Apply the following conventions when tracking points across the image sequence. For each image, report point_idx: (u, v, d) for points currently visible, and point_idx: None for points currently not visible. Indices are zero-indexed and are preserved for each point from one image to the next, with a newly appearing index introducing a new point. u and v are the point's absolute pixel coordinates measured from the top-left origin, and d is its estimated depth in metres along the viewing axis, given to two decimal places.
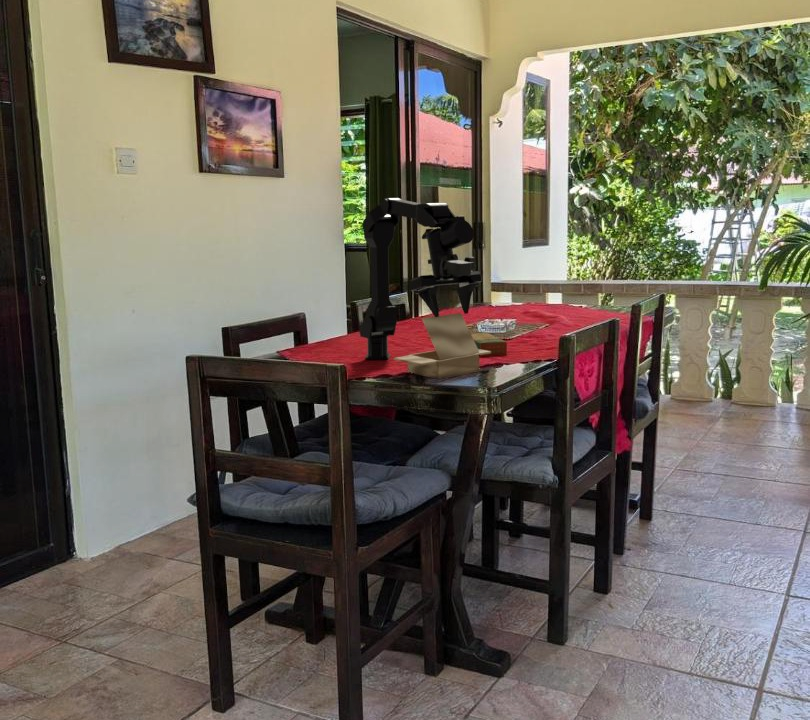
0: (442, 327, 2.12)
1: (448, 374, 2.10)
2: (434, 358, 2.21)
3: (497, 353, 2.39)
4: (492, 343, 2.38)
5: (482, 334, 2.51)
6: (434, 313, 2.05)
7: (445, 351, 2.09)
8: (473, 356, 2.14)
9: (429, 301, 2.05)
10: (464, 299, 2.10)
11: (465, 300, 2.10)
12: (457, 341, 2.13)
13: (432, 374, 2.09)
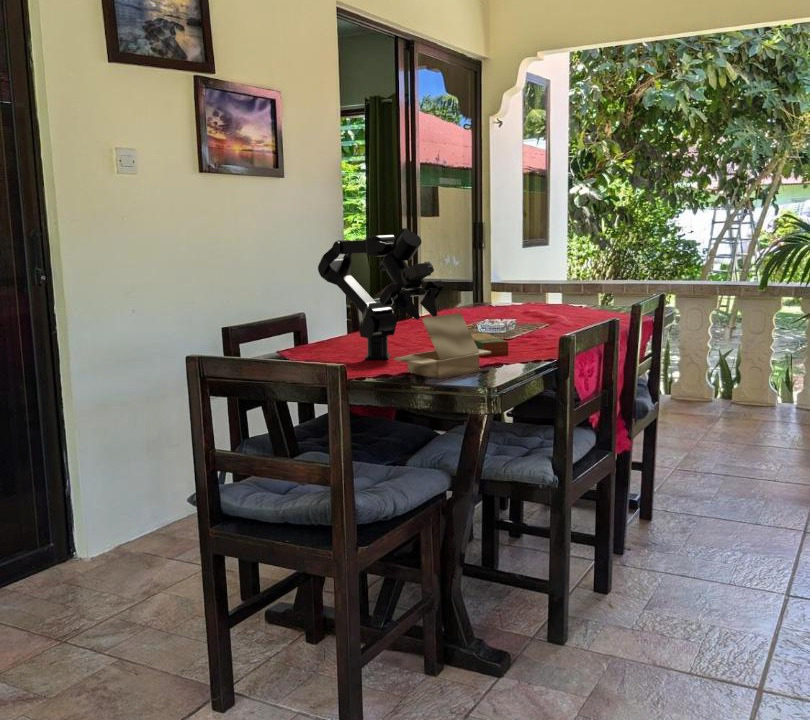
0: (442, 327, 2.12)
1: (448, 374, 2.10)
2: (434, 358, 2.21)
3: (499, 353, 2.39)
4: (494, 343, 2.38)
5: (481, 334, 2.51)
6: (415, 316, 2.17)
7: (445, 351, 2.09)
8: (473, 356, 2.14)
9: (407, 308, 2.18)
10: (429, 305, 2.22)
11: (431, 305, 2.22)
12: (457, 341, 2.13)
13: (432, 374, 2.09)
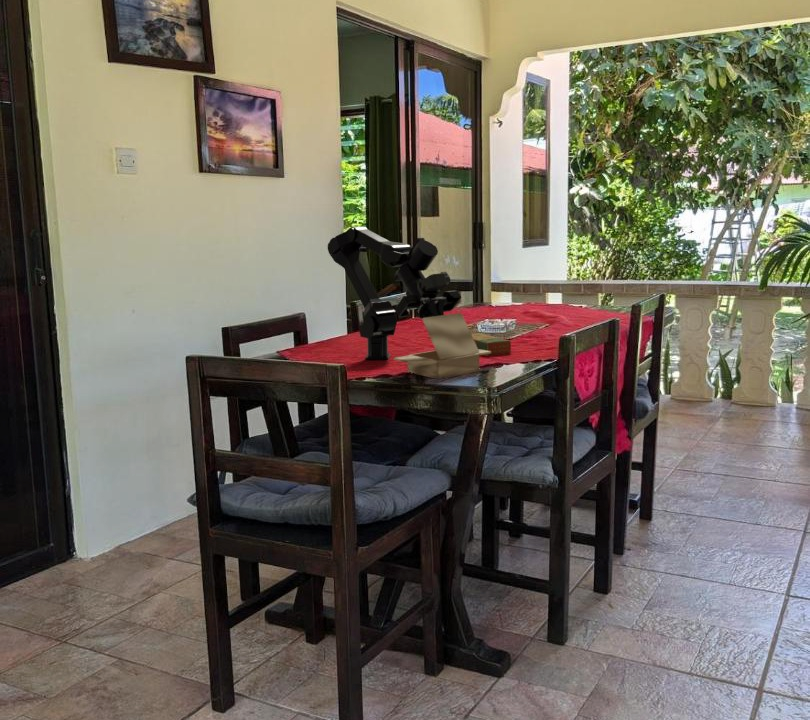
0: (442, 327, 2.12)
1: (448, 374, 2.10)
2: (434, 358, 2.21)
3: (502, 352, 2.40)
4: (498, 343, 2.39)
5: (478, 334, 2.50)
6: None
7: (445, 351, 2.09)
8: (473, 356, 2.14)
9: None
10: None
11: None
12: (457, 341, 2.13)
13: (432, 374, 2.09)
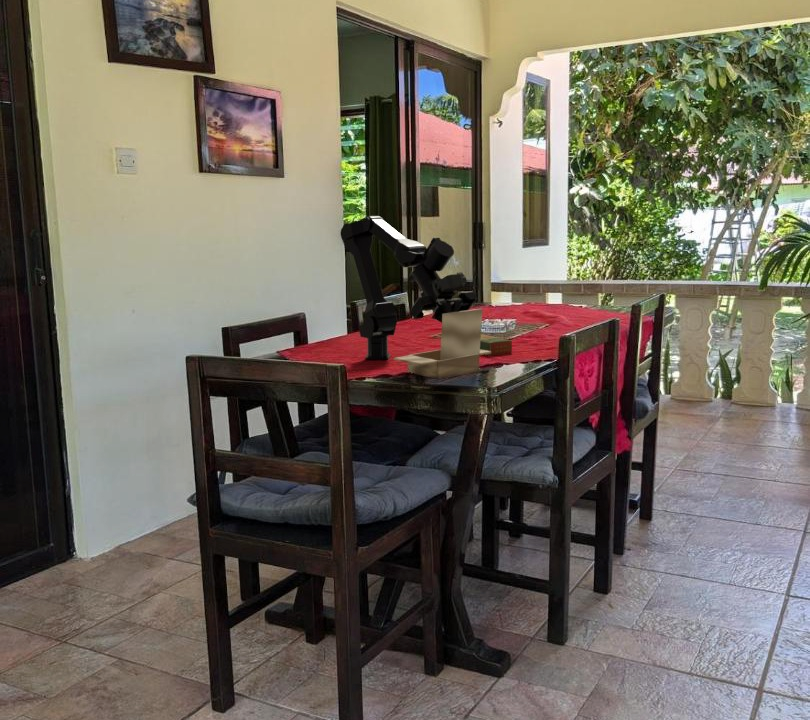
0: (457, 324, 2.08)
1: (448, 374, 2.10)
2: (434, 358, 2.21)
3: (504, 352, 2.40)
4: (500, 342, 2.39)
5: None
6: None
7: (448, 352, 2.08)
8: (473, 356, 2.14)
9: None
10: None
11: None
12: (464, 341, 2.11)
13: (432, 374, 2.09)
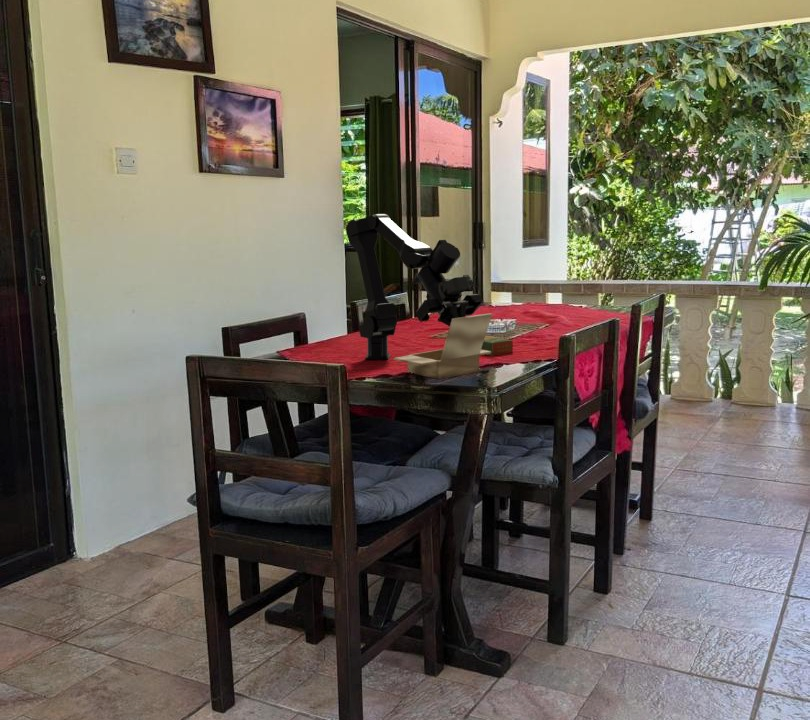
0: (464, 329, 2.06)
1: (448, 374, 2.10)
2: (434, 358, 2.21)
3: (505, 352, 2.41)
4: (501, 342, 2.39)
5: None
6: None
7: (450, 353, 2.07)
8: (473, 356, 2.14)
9: None
10: None
11: None
12: (467, 343, 2.10)
13: (432, 374, 2.09)
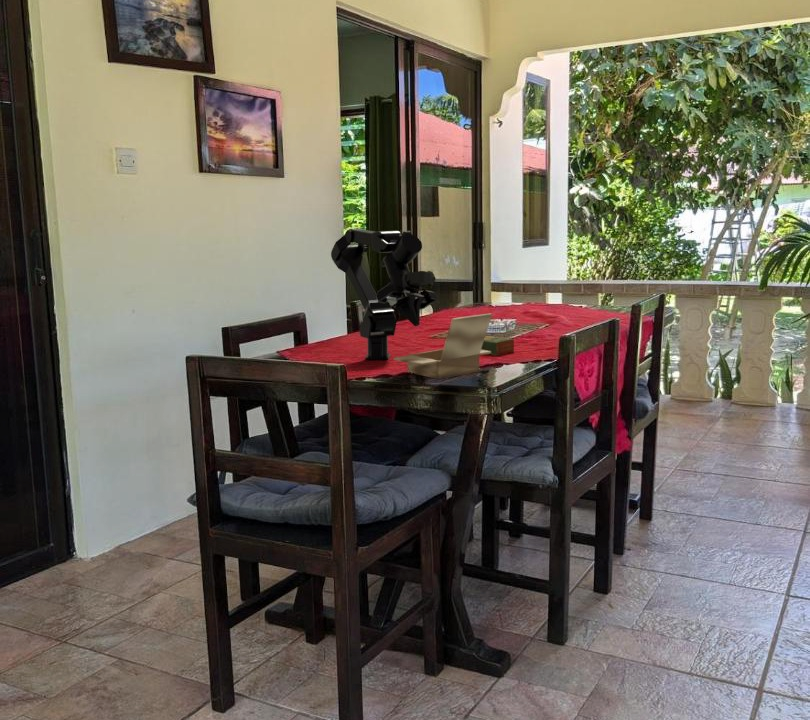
0: (464, 329, 2.06)
1: (448, 374, 2.10)
2: (434, 358, 2.21)
3: (508, 351, 2.42)
4: (504, 342, 2.40)
5: None
6: (413, 322, 2.17)
7: (450, 353, 2.07)
8: (473, 356, 2.14)
9: (407, 312, 2.18)
10: None
11: None
12: (467, 343, 2.10)
13: (432, 374, 2.09)
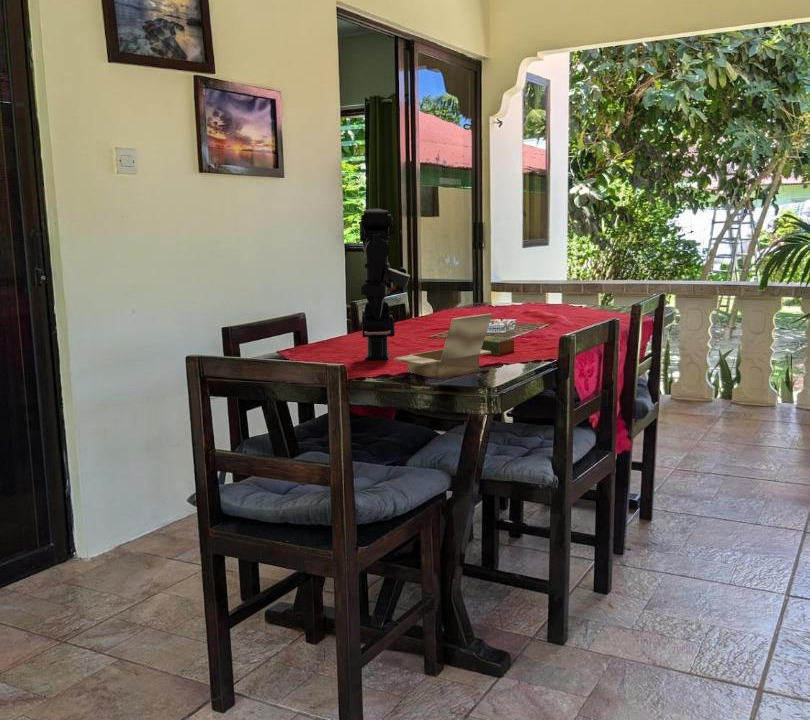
0: (464, 329, 2.06)
1: (448, 374, 2.10)
2: (434, 358, 2.21)
3: (509, 351, 2.42)
4: (505, 341, 2.41)
5: None
6: (377, 315, 2.20)
7: (450, 353, 2.07)
8: (473, 356, 2.14)
9: (375, 304, 2.19)
10: None
11: None
12: (467, 343, 2.10)
13: (432, 374, 2.09)
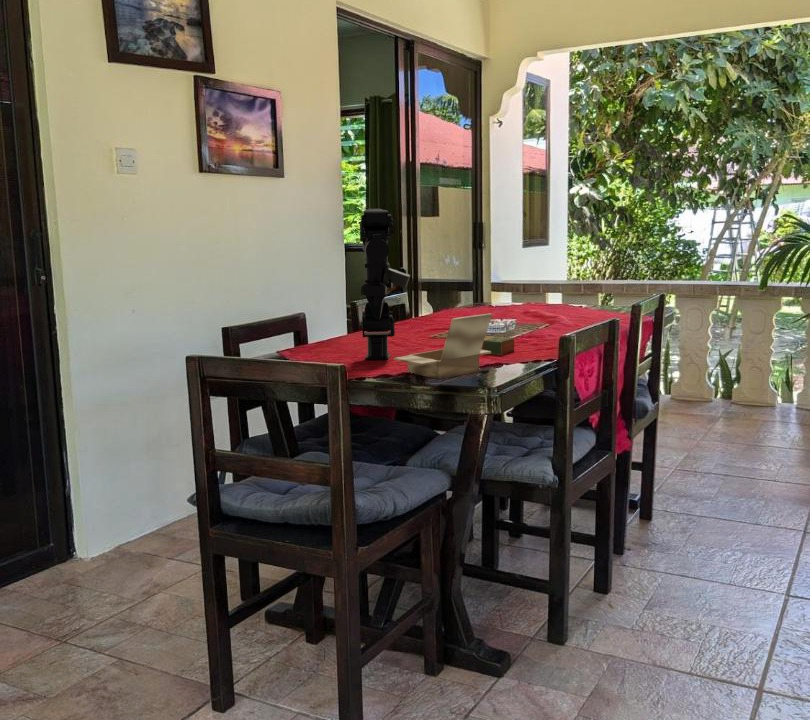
0: (464, 329, 2.06)
1: (448, 374, 2.10)
2: (434, 358, 2.21)
3: (509, 350, 2.43)
4: (507, 341, 2.41)
5: None
6: (376, 315, 2.20)
7: (450, 353, 2.07)
8: (473, 356, 2.14)
9: (375, 304, 2.19)
10: None
11: None
12: (467, 343, 2.10)
13: (432, 374, 2.09)
